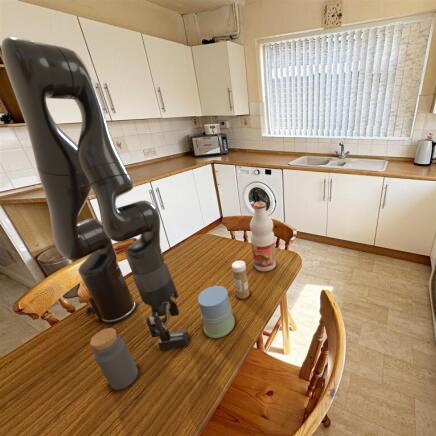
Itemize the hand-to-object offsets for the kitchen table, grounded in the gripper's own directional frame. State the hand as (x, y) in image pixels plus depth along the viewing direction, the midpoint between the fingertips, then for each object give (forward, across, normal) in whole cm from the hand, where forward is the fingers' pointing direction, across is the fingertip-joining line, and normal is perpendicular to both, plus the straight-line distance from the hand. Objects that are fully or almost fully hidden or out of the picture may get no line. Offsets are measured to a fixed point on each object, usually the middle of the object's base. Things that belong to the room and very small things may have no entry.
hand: (171, 326), depth 66 cm
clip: (+6, 0, 0) cm, 7 cm away
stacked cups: (+7, -4, +12) cm, 14 cm away
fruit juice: (+7, -32, +28) cm, 43 cm away
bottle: (+7, +8, -11) cm, 15 cm away
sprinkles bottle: (+7, -16, +19) cm, 25 cm away
